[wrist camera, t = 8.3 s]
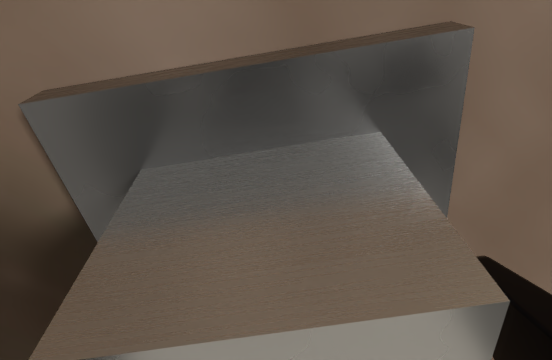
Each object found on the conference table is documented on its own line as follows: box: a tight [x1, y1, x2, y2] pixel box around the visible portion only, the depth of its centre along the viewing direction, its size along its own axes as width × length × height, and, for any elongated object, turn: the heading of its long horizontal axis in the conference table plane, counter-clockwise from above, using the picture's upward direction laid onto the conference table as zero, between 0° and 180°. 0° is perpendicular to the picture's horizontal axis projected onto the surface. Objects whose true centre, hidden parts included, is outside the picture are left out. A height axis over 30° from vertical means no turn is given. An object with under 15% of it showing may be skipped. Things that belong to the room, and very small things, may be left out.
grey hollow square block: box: [29, 131, 510, 360], centre depth 8 cm, size 6×6×5 cm
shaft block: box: [18, 22, 474, 242], centre depth 9 cm, size 10×10×5 cm
